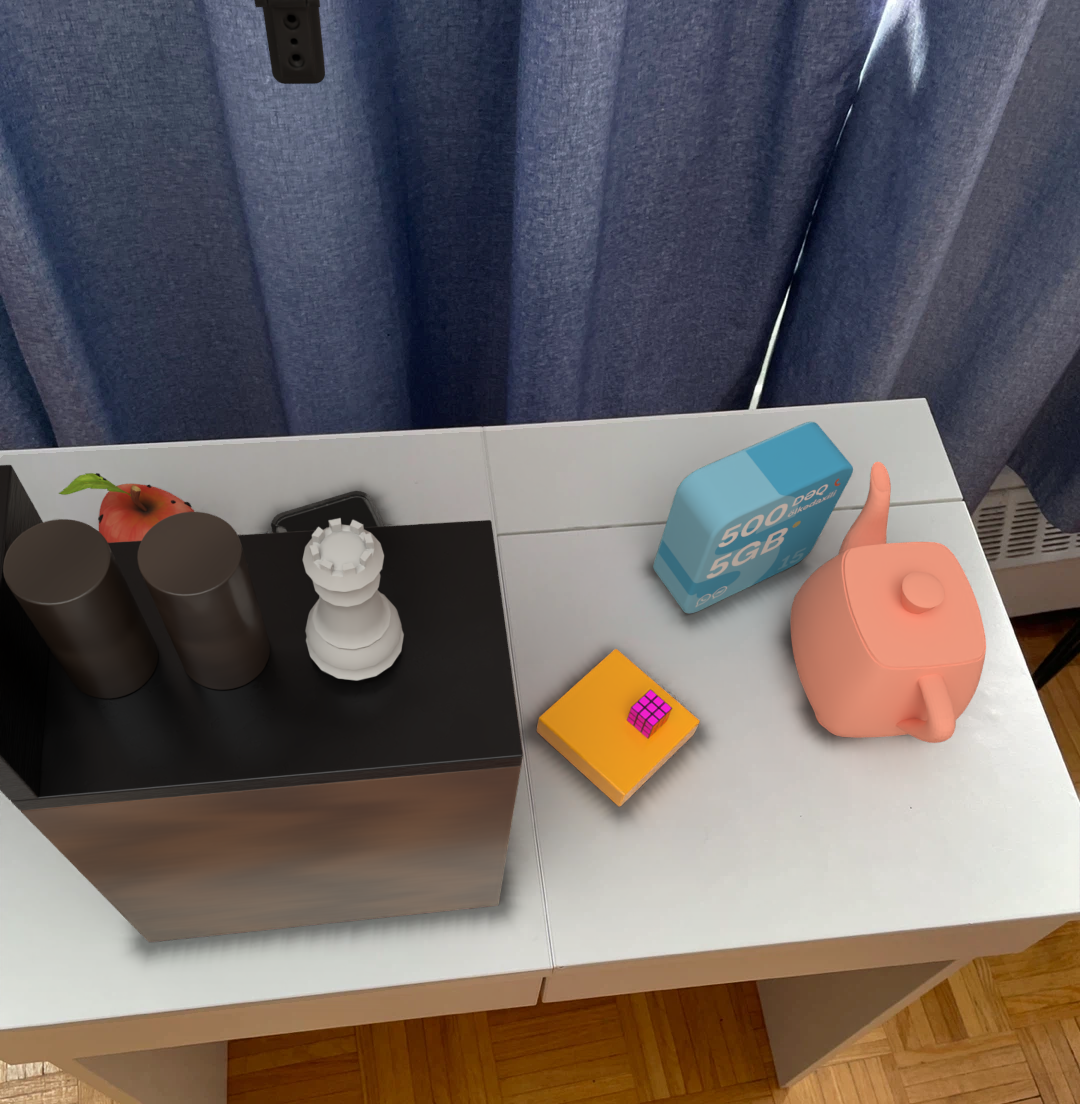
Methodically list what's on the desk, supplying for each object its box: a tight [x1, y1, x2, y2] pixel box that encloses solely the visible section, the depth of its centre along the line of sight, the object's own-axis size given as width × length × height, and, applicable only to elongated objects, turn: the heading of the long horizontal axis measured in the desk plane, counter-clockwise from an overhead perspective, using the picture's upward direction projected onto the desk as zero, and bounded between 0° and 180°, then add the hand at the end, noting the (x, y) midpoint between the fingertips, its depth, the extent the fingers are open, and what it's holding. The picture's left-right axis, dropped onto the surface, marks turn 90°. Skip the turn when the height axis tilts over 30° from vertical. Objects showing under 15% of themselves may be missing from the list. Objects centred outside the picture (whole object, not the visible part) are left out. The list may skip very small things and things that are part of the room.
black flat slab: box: [0, 464, 524, 811], centre depth 48 cm, size 22×13×7 cm, turn 97°
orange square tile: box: [536, 648, 701, 807], centre depth 75 cm, size 8×8×4 cm
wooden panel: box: [19, 765, 522, 943], centre depth 62 cm, size 22×13×23 cm, turn 97°
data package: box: [653, 421, 854, 614], centre depth 78 cm, size 12×4×12 cm, turn 120°
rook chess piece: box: [303, 518, 404, 680], centre depth 47 cm, size 4×4×8 cm
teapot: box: [790, 461, 987, 744], centre depth 75 cm, size 20×12×12 cm, turn 8°
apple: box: [57, 472, 196, 543], centre depth 75 cm, size 8×7×10 cm
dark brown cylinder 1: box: [3, 518, 158, 699], centre depth 46 cm, size 4×4×8 cm
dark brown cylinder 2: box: [137, 511, 270, 690], centre depth 46 cm, size 4×4×8 cm
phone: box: [270, 490, 385, 533], centre depth 79 cm, size 8×1×15 cm
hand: (296, 16), depth 48 cm, fingers open, 8 cm apart
